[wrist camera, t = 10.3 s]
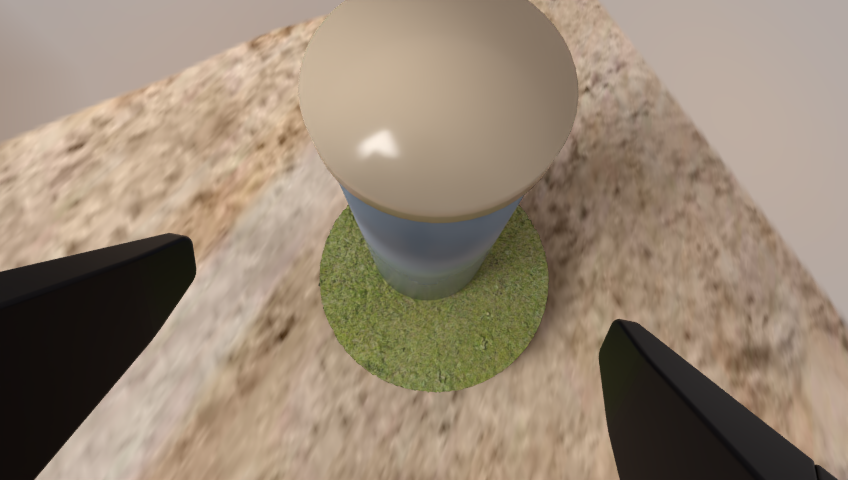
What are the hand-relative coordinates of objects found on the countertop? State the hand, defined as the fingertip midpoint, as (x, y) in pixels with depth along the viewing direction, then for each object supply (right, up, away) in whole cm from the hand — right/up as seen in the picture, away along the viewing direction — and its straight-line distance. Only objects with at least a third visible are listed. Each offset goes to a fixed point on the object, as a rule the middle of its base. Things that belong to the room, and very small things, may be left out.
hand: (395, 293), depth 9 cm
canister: (+1, +1, +12) cm, 12 cm away
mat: (+1, -1, +14) cm, 14 cm away
